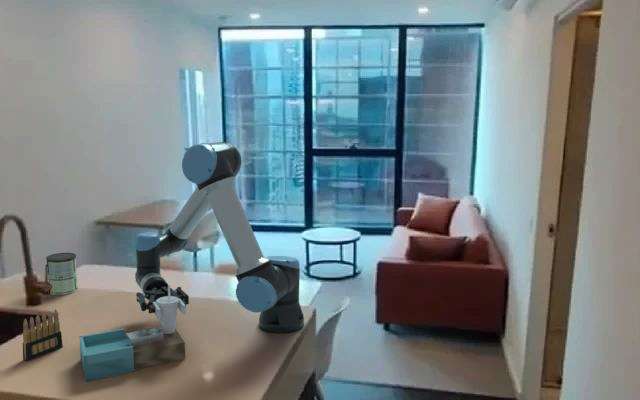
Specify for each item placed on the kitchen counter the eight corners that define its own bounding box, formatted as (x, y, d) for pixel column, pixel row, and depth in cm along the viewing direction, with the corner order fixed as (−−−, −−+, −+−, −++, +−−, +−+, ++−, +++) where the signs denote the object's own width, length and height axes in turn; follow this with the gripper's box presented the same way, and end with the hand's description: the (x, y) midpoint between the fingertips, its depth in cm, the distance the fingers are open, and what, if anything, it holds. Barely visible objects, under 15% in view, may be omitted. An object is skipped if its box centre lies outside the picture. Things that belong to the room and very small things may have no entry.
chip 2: (158, 334, 147) (157, 326, 147) (163, 340, 144) (163, 332, 143) (142, 338, 144) (142, 330, 144) (147, 344, 141) (147, 335, 140)
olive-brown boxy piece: (174, 342, 154) (174, 326, 153) (185, 358, 143) (184, 342, 143) (126, 352, 147) (125, 335, 146) (133, 369, 137) (132, 352, 136)
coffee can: (43, 291, 196) (40, 256, 194) (69, 284, 204) (67, 251, 202) (56, 297, 190) (54, 261, 188) (83, 290, 198) (81, 255, 196)
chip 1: (142, 338, 145) (141, 329, 144) (147, 343, 141) (147, 335, 141) (126, 342, 142) (125, 333, 142) (131, 348, 138) (130, 339, 138)
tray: (125, 350, 147) (124, 328, 146) (134, 371, 136) (133, 346, 135) (80, 359, 142) (79, 336, 140) (85, 381, 130) (83, 356, 129)
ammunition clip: (26, 361, 140) (23, 320, 138) (22, 359, 141) (19, 319, 139) (63, 347, 149) (60, 308, 147) (59, 345, 150) (56, 307, 148)
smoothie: (176, 336, 144) (174, 289, 142) (153, 335, 144) (152, 288, 142) (182, 326, 151) (181, 282, 148) (161, 326, 151) (159, 281, 148)
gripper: (185, 294, 167) (205, 318, 147) (123, 303, 158) (136, 330, 138) (184, 272, 166) (205, 294, 146) (122, 280, 156) (135, 304, 136)
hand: (171, 312), depth 142 cm, fingers closed on smoothie, 6 cm apart
